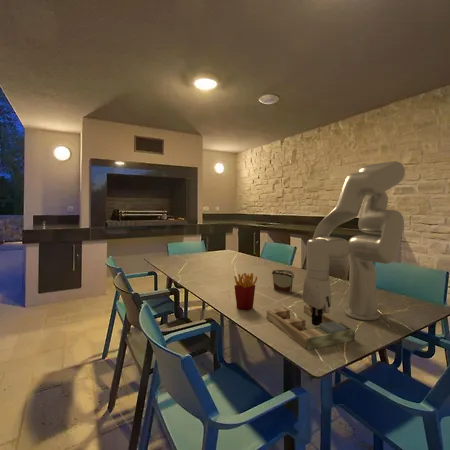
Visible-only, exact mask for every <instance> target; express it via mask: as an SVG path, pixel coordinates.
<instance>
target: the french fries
mask: <svg viewBox="0 0 450 450" xmlns="http://www.w3.org/2000/svg"><path fill="white" fill-rule="evenodd" d="M237 276H238V278H237ZM257 280H258V276H255V278H254V273H253V272H252V273H251V272H250V273H248V274H247V273H246V272H244V273H242V275H241V274H240V273H238V274H237V275H234V282H235V284H236V285H234V287H233V288H234V295H235V302H236V303H235V304H236V309H238V310H240V311H244V312H247V311H249V310H251V309H253V308H254V302H255V293H256V292H255V291H256V285H255V284H256V283H257Z"/></svg>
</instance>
